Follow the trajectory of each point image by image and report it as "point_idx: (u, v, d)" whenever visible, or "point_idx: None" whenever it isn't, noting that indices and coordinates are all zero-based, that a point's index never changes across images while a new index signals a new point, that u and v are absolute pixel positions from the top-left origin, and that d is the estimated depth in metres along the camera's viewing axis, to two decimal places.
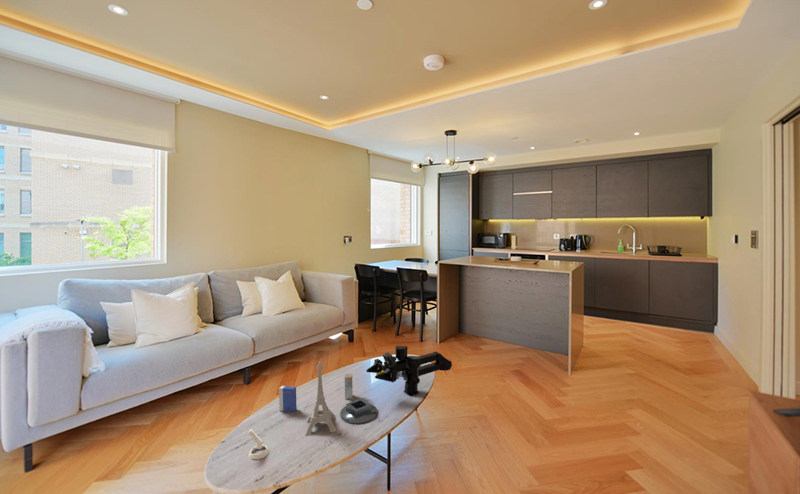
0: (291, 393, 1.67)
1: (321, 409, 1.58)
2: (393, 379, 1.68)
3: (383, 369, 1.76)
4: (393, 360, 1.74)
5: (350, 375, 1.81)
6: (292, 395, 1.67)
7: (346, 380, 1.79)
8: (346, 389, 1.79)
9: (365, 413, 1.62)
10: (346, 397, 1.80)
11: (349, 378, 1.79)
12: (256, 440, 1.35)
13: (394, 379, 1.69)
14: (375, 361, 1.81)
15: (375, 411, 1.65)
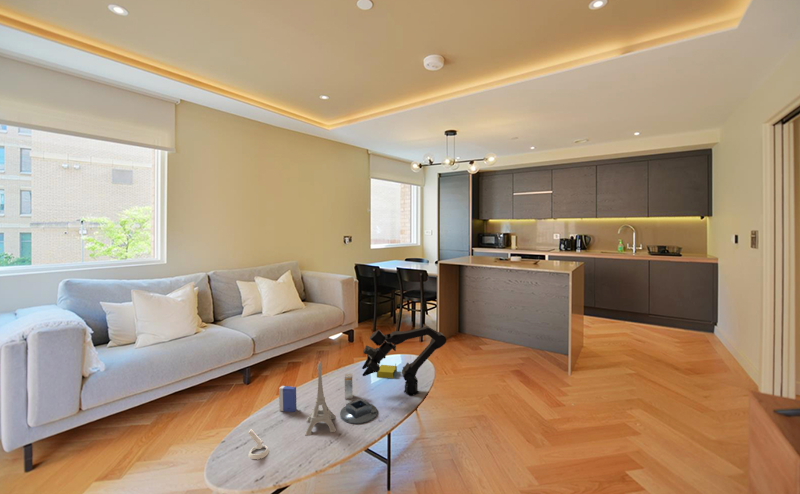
0: (291, 393, 1.67)
1: (321, 409, 1.58)
2: (375, 370, 1.74)
3: None
4: (369, 352, 1.78)
5: (350, 375, 1.81)
6: (292, 395, 1.67)
7: (346, 380, 1.79)
8: (346, 389, 1.79)
9: (365, 413, 1.62)
10: (346, 397, 1.80)
11: (349, 378, 1.79)
12: (256, 440, 1.35)
13: (376, 369, 1.74)
14: (367, 355, 1.89)
15: (375, 411, 1.65)
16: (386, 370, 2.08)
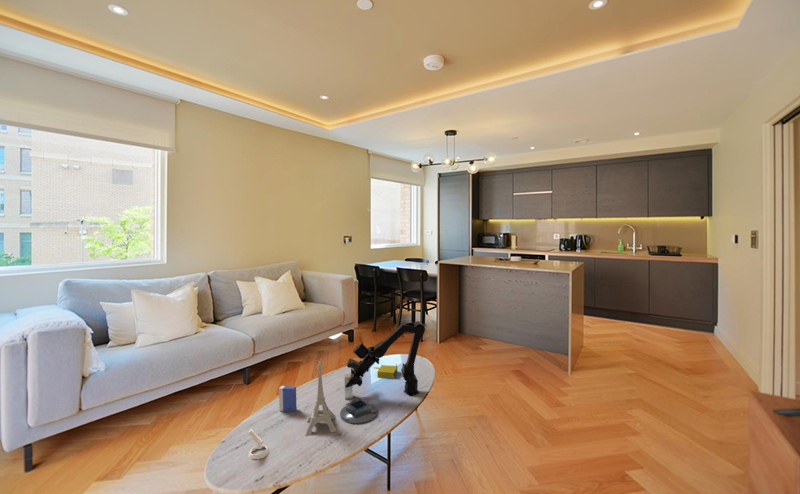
0: (291, 393, 1.67)
1: (321, 409, 1.58)
2: (358, 383, 1.73)
3: None
4: (352, 366, 1.77)
5: (350, 375, 1.81)
6: (292, 395, 1.67)
7: (346, 380, 1.79)
8: (346, 389, 1.79)
9: (365, 413, 1.62)
10: (346, 397, 1.80)
11: (349, 378, 1.79)
12: (256, 440, 1.35)
13: (359, 383, 1.73)
14: (351, 369, 1.86)
15: (375, 411, 1.65)
16: (387, 370, 2.07)
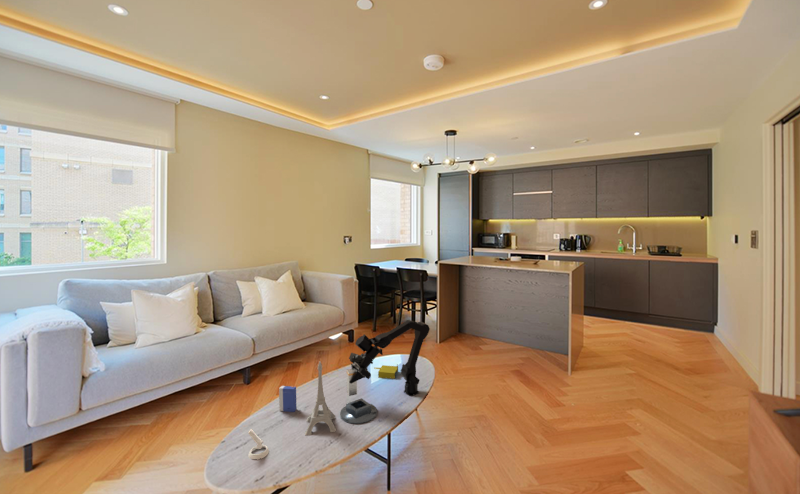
0: (291, 393, 1.67)
1: (321, 409, 1.58)
2: (367, 377, 1.65)
3: (358, 368, 1.73)
4: (358, 359, 1.68)
5: (353, 370, 1.71)
6: (292, 395, 1.67)
7: (350, 375, 1.69)
8: (350, 385, 1.69)
9: (365, 413, 1.62)
10: (350, 393, 1.69)
11: (353, 373, 1.69)
12: (256, 440, 1.35)
13: (368, 376, 1.65)
14: (351, 364, 1.75)
15: (375, 411, 1.65)
16: (388, 371, 2.07)
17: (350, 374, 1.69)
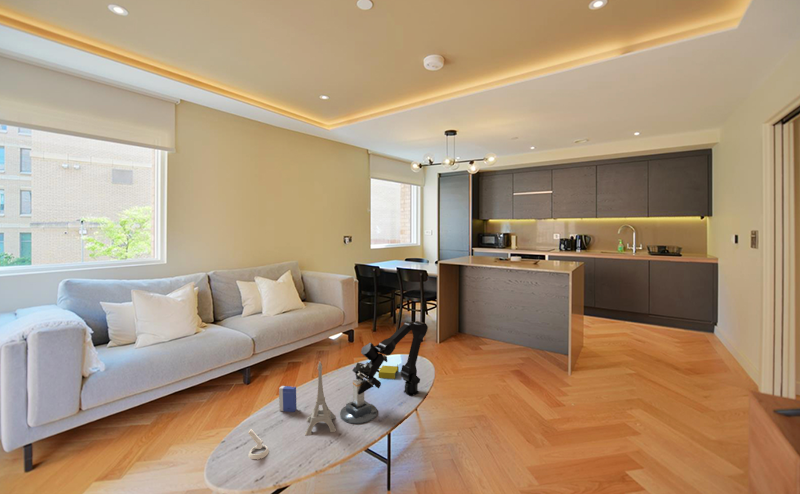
0: (291, 393, 1.67)
1: (321, 409, 1.58)
2: (378, 386, 1.61)
3: (364, 377, 1.67)
4: (367, 369, 1.62)
5: (360, 380, 1.65)
6: (292, 395, 1.67)
7: (358, 386, 1.62)
8: (358, 396, 1.63)
9: (365, 413, 1.62)
10: (358, 405, 1.63)
11: (361, 383, 1.63)
12: (256, 440, 1.35)
13: (378, 385, 1.61)
14: (356, 374, 1.69)
15: (375, 411, 1.65)
16: (388, 371, 2.07)
17: (358, 385, 1.62)
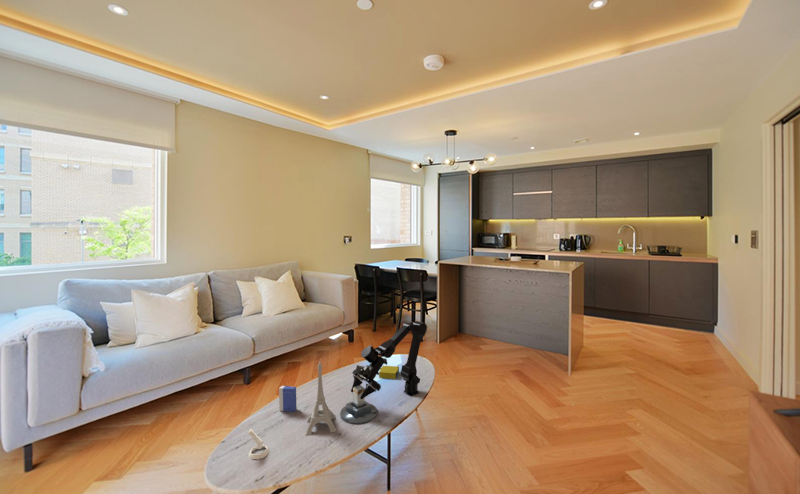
0: (291, 393, 1.67)
1: (321, 409, 1.58)
2: (377, 389, 1.61)
3: (364, 380, 1.67)
4: (366, 371, 1.62)
5: (361, 387, 1.65)
6: (292, 395, 1.67)
7: (359, 393, 1.62)
8: (358, 403, 1.62)
9: (365, 413, 1.62)
10: None
11: (362, 390, 1.63)
12: (256, 440, 1.35)
13: (378, 388, 1.61)
14: None
15: (375, 411, 1.65)
16: (389, 371, 2.06)
17: (359, 392, 1.62)
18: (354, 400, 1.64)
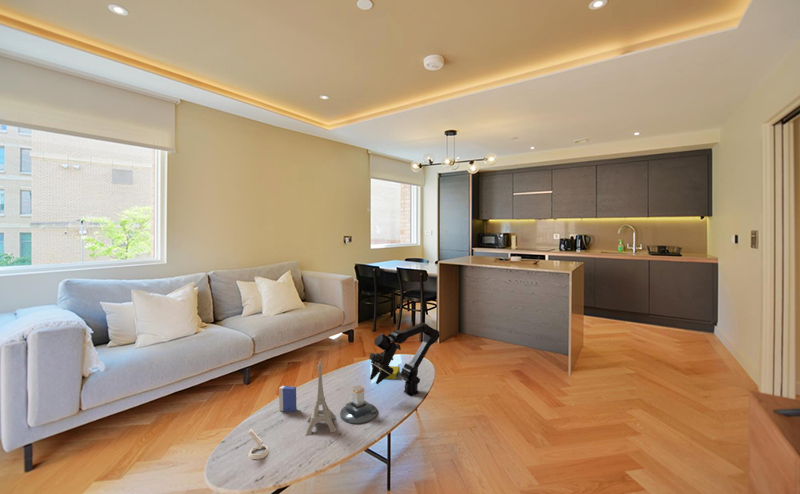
0: (291, 393, 1.67)
1: (321, 409, 1.58)
2: (390, 372, 1.66)
3: (380, 366, 1.74)
4: (378, 357, 1.69)
5: (360, 387, 1.65)
6: (292, 395, 1.67)
7: (358, 393, 1.62)
8: (358, 403, 1.63)
9: (365, 413, 1.62)
10: None
11: (361, 390, 1.63)
12: (256, 440, 1.35)
13: (391, 371, 1.66)
14: (371, 364, 1.79)
15: (375, 411, 1.65)
16: None
17: (358, 392, 1.62)
18: (354, 400, 1.64)
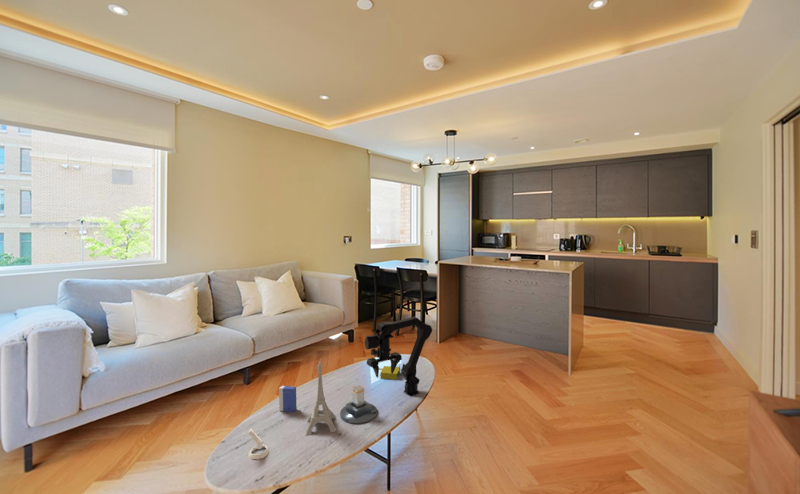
0: (291, 393, 1.67)
1: (321, 409, 1.58)
2: (370, 365, 1.72)
3: None
4: (372, 352, 1.81)
5: (360, 387, 1.65)
6: (292, 395, 1.67)
7: (358, 393, 1.62)
8: (358, 403, 1.63)
9: (365, 413, 1.62)
10: None
11: (361, 390, 1.63)
12: (256, 440, 1.35)
13: (370, 364, 1.72)
14: None
15: (375, 411, 1.65)
16: (390, 372, 2.06)
17: (358, 392, 1.62)
18: (354, 400, 1.64)
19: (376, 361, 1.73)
